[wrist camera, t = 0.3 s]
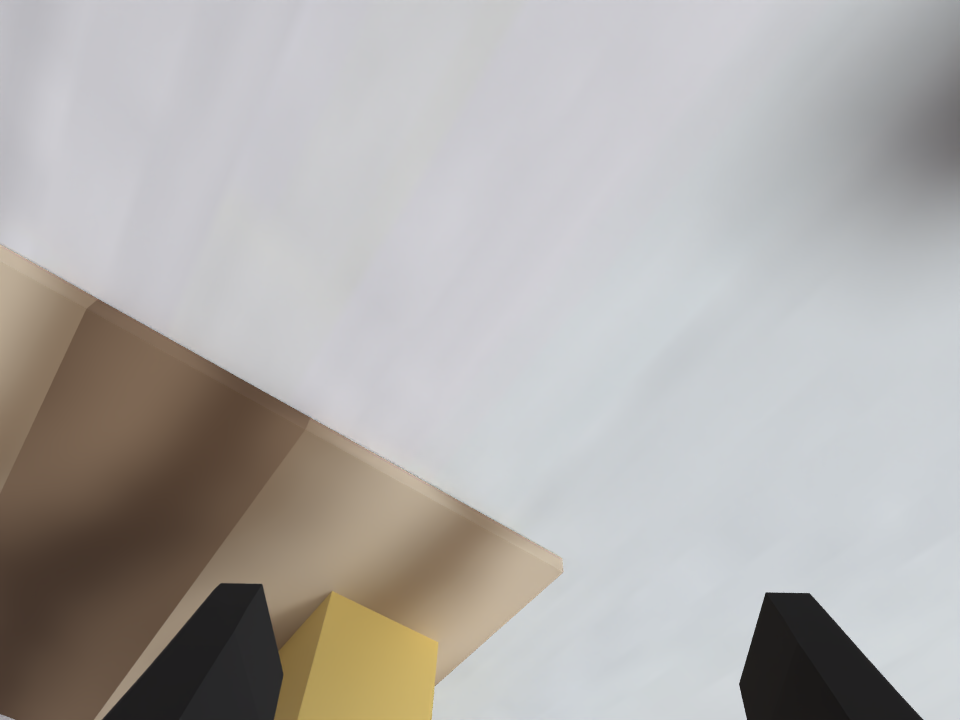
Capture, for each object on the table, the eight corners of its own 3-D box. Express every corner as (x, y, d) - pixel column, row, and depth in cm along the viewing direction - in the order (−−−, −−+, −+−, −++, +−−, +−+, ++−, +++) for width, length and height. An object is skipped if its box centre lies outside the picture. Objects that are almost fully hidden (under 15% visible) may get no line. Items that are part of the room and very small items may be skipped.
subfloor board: (562, 558, 23) (563, 571, 23) (288, 805, 31) (284, 819, 31) (-2, 243, 18) (-17, 251, 17) (-149, 640, 26) (-162, 653, 26)
